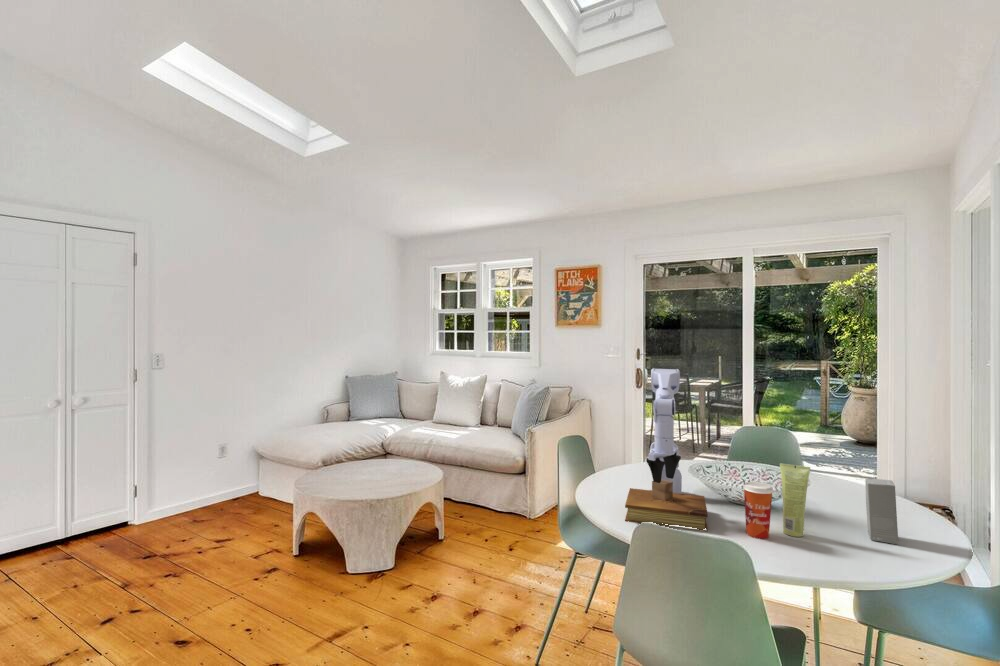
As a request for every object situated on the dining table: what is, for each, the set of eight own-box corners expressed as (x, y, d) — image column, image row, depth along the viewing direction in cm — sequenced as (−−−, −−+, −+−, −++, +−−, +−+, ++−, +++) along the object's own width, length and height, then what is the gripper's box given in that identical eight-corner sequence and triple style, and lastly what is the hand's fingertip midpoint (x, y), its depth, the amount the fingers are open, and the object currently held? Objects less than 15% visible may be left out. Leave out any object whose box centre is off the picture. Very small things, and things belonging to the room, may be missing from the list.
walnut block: (659, 494, 165) (660, 478, 165) (672, 497, 161) (672, 481, 161) (651, 497, 162) (652, 481, 162) (664, 500, 158) (664, 484, 159)
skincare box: (898, 545, 138) (899, 486, 139) (866, 540, 142) (866, 482, 142) (895, 535, 146) (895, 479, 146) (864, 530, 149) (864, 475, 149)
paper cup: (741, 536, 143) (742, 486, 143) (743, 527, 150) (743, 479, 150) (773, 542, 139) (774, 490, 140) (773, 533, 146) (774, 483, 146)
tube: (795, 530, 149) (796, 462, 149) (809, 536, 144) (810, 466, 144) (778, 531, 148) (779, 463, 148) (792, 538, 143) (793, 467, 143)
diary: (703, 513, 165) (704, 495, 165) (707, 534, 147) (707, 514, 147) (629, 504, 172) (630, 486, 172) (624, 523, 154) (625, 503, 154)
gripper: (664, 432, 170) (664, 473, 170) (639, 437, 160) (639, 481, 160) (684, 435, 165) (684, 478, 165) (660, 441, 155) (659, 486, 155)
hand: (663, 480), depth 162 cm, fingers open, 7 cm apart
